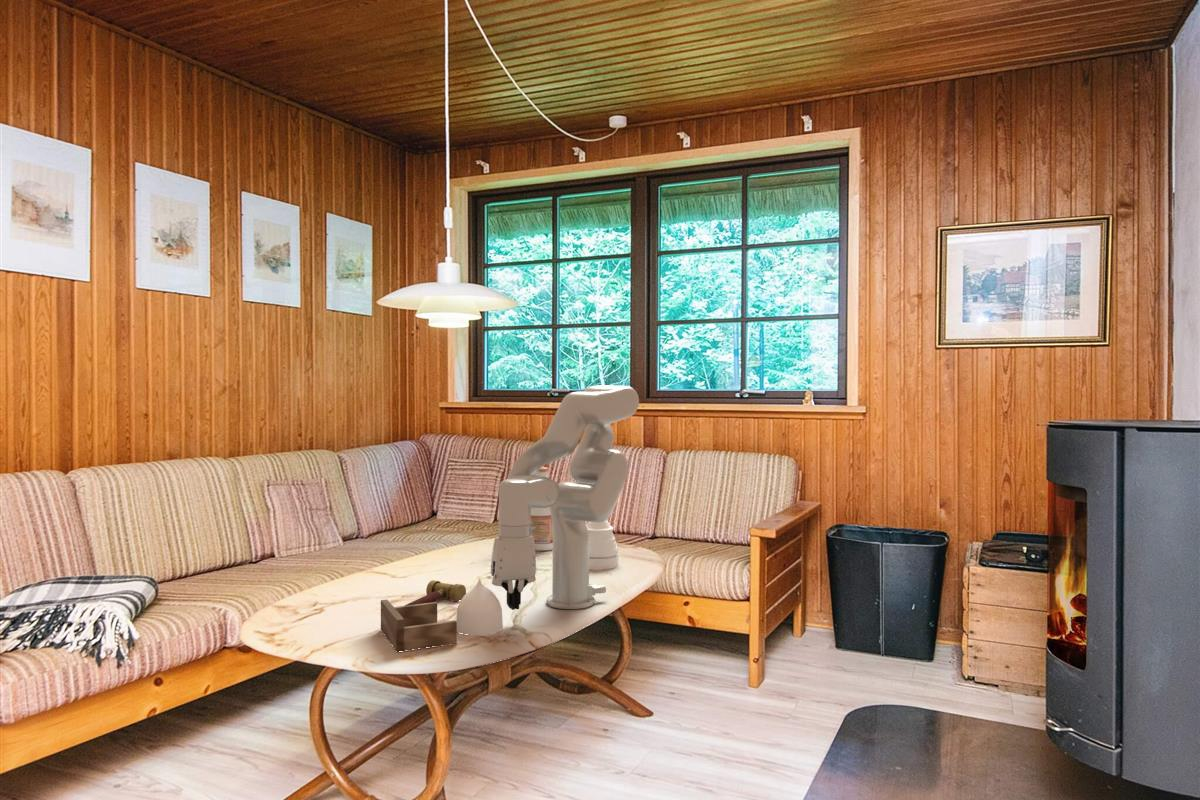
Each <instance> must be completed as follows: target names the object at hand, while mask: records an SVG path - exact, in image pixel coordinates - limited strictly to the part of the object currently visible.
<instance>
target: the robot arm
mask: <svg viewBox="0 0 1200 800" xmlns="http://www.w3.org/2000/svg"><path fill="white" fill-rule="evenodd" d="M639 403H640V398H639V394H638V393H637V391H636V389H634V388H633V387H632V386H628V385H591V386H589V387H586V388H585V389H584V390H583V391H573V392H568V393H567V394H566V395H565V396H564V397H563V398H562V400H561V403H560V404H559V407H558V408H557V411H556V412H555V415H554V416H553V418H552V420H551V422H550V423H549V426H548V428H547V430H546V433H545V434H544V435H543V437H541V438H540V439H539V440H537V441H536V442H535V443H533V444H532V445H531V446H530V447H528V448H527V449H526V450H524V451H523V452H522V454H520V455H519V456H518V458H517V459H516V460H515V462H514V464H513V466H512V468H511V470H510V471H509V473H508V475H507V478H506V479H503V480H502V481H500V483H499V487H498V536H495V537H494V541H493V546H492V553H491V564H490V575H491V577H492V580H491V584H492V585H493V586H495V587H500V588H503V589H504V590H505V591H506V605H507V606H508V608H509V609H511V611H512V610H513V611H514V610H519V609H520V605H521V604H522V603H521V602H522V599H521V598H522V592H523V591H524V588H525V587H526V586H527V585H528V584H531V583H534V582H535V581H536V579H537V578H536V572H537V558H536V557H537V556H536V551H535V547H534V541H533V537H532V536H531V535H530V534H531V531H535V530H536V526H535V525H531V524H530V518H531V508H547V507H550V512H551V517H552V526H553V549H552V594H550V595H548V596H547V597H546V601H545V602H546V605H548V606H550V607H552V608H555V609H560V610H561V609H562V610H579V609H585V608H590V607H591V606H593V605H595V603H596V602H595V600H596V599H595V597H594V596H595V595H596V594H605V593H606V592H607V588H606V586H605V585H598V586H597V584H594V585H592V584H590V569H589V533H588V529H587V526H586V525H587V523H586V522H603V521H605V520H608V519H609V518H610V517H611V515H612V513H613V512H614V510H615V507H616V504H617V503H618V500H619V498H620V496H621V492H622V491H623V488H624V486H625V483H626V480H627V478H628V473H629V462H628V459H627V456H626V455H625V454H624V453H623V452H622V451H619V450H616V449H612V448H613V446H614V443H615V432H614V429H613V427H612V425H611V424H613V423H614V424H615V423H617V422H620V421H622V420H623V421H624V420H626V419H629V418H631V417H632V416H634V415H635V414H636V413H637V410H638V408H639V406H640V405H639ZM579 441H580V442H579ZM578 443H579V444H578ZM575 450H576V451H575ZM574 452H575V453H574ZM573 453H574V455H573V457H572V460H571V462H570V465H569V474H570V477H571V478H572V479H573V480H574V481H563V482H559V483H558V482H557V481H556V480H555V479H553V478H550V477H549V476H548V477H540V476H535V473H536V472H537V471H538V470H539V469H540V468H541V467H545V466H546V465H548V464H550V463H553V462H555V461H558V460H562V459H563V458H566V457H568V456H569V455H572V454H573ZM575 481H576V482H575ZM513 581H514V582H513Z"/></svg>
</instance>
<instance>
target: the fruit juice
mask: <svg viewBox="0 0 1200 800" xmlns="http://www.w3.org/2000/svg"><path fill="white" fill-rule="evenodd" d="M548 474H549V467H546V466H543V467H541V468H540V469H539V470H538V471H537V472H536V473H535V474H534V476H540V477H548V478H549V475H548ZM530 524H531V525H535V526H536V530H535V531H531V534H530V535H531V536H532V537H533V541H534V547H535V552H544V551H551V550H552V551H553V526H552V517H551V512H550V507H547V508H531V518H530Z"/></svg>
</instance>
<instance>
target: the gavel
mask: <svg viewBox="0 0 1200 800" xmlns="http://www.w3.org/2000/svg"><path fill="white" fill-rule="evenodd" d="M425 589H426V590H425V592H426V595H424V596H422V597H419V598H417V599H416V600H415V599H414V600H413V601H411V602H409V603H406V604H405V605H404V606H407V605H416V604H424V603H432V602H438V601H439V600H440V599H443V598H445V599H444V600H449V599H451V601H452V600H453V601H452V602H456V601H459V600H462V598H463V596H464V595H465V594H466V593H467V588H466V586H465V585H464V584H461V583H455V584H452V583H451V584H450V583H444V582H441V581H440V580H434V579H433V580H431V581H429V582H428V584H427V586H426V588H425Z"/></svg>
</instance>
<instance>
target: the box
mask: <svg viewBox="0 0 1200 800" xmlns="http://www.w3.org/2000/svg"><path fill="white" fill-rule="evenodd" d="M456 620H457V619H455V620H448V621H439V622H438V601H436V602H432V603H424V604H416V605H407V606H405V605H400V606H394V605H393V604H392V603H391V602H390V601H389V600H388V599H381V600H380V631H381V630H382V631H383V633H384V634H385V635H384V634H383V633H382V634H383V635H384V637H385V636H386V637H387V638H386V637H385V638H386V640H387V639H388V640H389V641H390V642H389V641H388V640H387V641H388V642H389V644H390V643H391V644H392V645H393V647H394V648H395V649H394V648H393V647H392V648H393V649H394V651H395V650H396V651H397V652H399V651H405V650H412V649H418V648H426V647H432V646H440V647H442V646H441V645H447V646H450V645H449V644H454V645H458V644H457V641H458V640H457V637H458V636H457V634H458V632H457V621H456ZM382 631H381V632H382ZM391 644H390V645H391ZM392 645H391V646H392ZM396 651H395V652H396ZM397 652H396V653H397ZM399 653H400V652H399Z"/></svg>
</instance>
